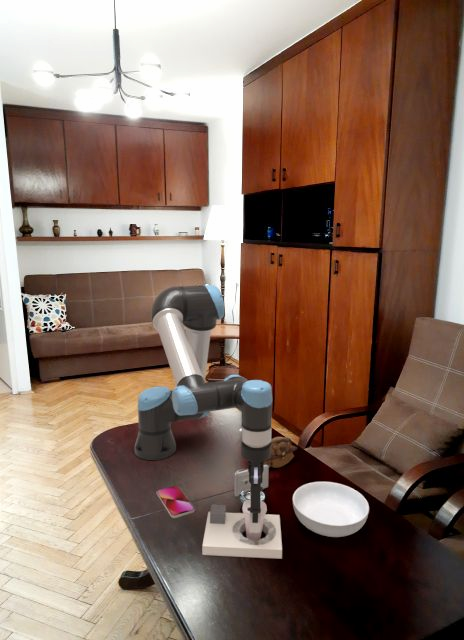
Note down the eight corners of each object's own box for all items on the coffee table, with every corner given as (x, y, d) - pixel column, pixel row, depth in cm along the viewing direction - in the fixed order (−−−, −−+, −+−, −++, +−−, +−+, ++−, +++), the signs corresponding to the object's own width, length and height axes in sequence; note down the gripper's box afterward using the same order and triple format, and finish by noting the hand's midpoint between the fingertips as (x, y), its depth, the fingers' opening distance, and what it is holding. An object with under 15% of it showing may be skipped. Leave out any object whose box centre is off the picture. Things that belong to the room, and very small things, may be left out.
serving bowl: (369, 509, 132) (370, 488, 131) (365, 557, 113) (367, 533, 112) (299, 495, 139) (300, 475, 138) (284, 538, 120) (285, 515, 118)
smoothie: (263, 528, 123) (265, 483, 119) (267, 545, 117) (269, 499, 113) (240, 529, 122) (241, 484, 119) (243, 546, 116) (244, 500, 113)
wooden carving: (264, 476, 149) (265, 449, 147) (255, 470, 153) (256, 443, 151) (299, 461, 159) (300, 435, 157) (289, 456, 163) (290, 430, 161)
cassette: (236, 498, 137) (236, 475, 136) (233, 495, 139) (233, 472, 137) (269, 488, 143) (269, 466, 141) (266, 485, 144) (266, 463, 143)
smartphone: (177, 484, 143) (196, 509, 130) (177, 487, 144) (196, 512, 130) (155, 490, 140) (172, 516, 127) (155, 493, 140) (172, 520, 127)
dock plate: (208, 519, 127) (208, 502, 126) (279, 522, 126) (279, 505, 125) (202, 554, 113) (202, 535, 112) (281, 558, 112) (282, 539, 111)
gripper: (242, 425, 123) (242, 500, 128) (239, 459, 104) (239, 547, 109) (269, 425, 123) (268, 501, 127) (272, 460, 104) (270, 548, 108)
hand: (254, 522), depth 118 cm, fingers closed on smoothie, 6 cm apart
